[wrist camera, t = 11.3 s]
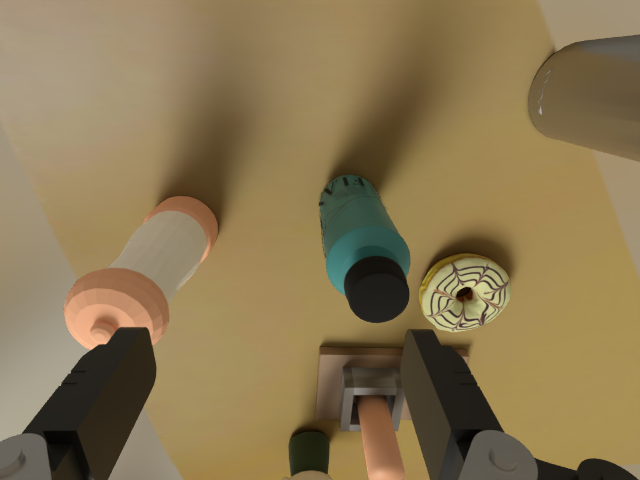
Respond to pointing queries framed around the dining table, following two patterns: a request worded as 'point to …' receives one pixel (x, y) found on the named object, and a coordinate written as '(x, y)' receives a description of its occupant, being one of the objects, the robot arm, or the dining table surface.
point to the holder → (360, 383)
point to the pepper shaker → (143, 274)
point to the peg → (379, 438)
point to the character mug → (309, 457)
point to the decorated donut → (471, 308)
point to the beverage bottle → (363, 249)
